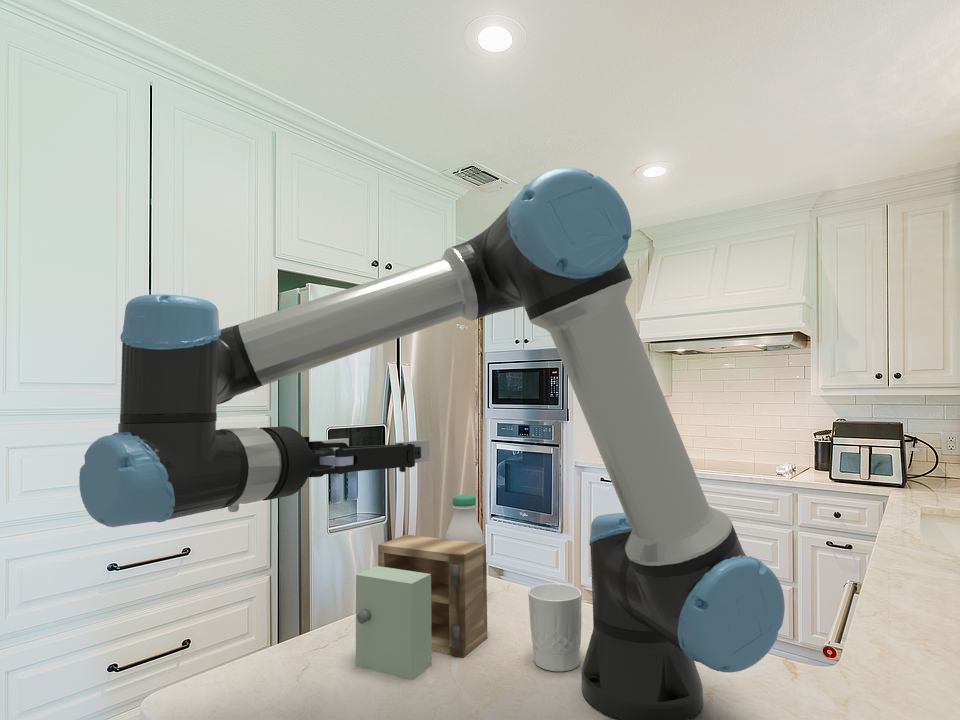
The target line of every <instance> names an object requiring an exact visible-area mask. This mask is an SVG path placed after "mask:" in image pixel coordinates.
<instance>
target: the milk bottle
mask: <svg viewBox="0 0 960 720" xmlns="http://www.w3.org/2000/svg"><path fill="white" fill-rule="evenodd" d="M476 498H477V497H476V496H475V495H473V494H458V495H454V496H452V508H453V513H452V514H453V515H452V518H451V521H450V522H449V523H450V524H449V526H448V528H447V532H446V534H445V539H449V540H458V541H467V542H476V543H484V544H485V539H484V534H483V531H482V528H481V526H480V524H479V521H478V518H477V515H476V512H475V510H476V509H475V508H477V507H476V503H477V499H476Z"/></svg>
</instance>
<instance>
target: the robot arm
mask: <svg viewBox="0 0 960 720" xmlns="http://www.w3.org/2000/svg"><path fill="white" fill-rule="evenodd" d="M631 237H632V221H631V215H630V212H629V209H628V207H627V204H626V203H625V201H624V200H623V197H622V196H621V195H620V193H619V192H618V191H617V190H616V188H615V187H614V186H613V185H612V184H610V183H609V182H608V181H607V180H606V179H604V178H602V177H601V176H599V175H595V174H593V173H591V172H588V171H587V170H585V169H582V168H577V167H557V168H553V169H550V170H547V171H545V172H542V173H540V174H539V175H537V176H536V177H535V178H533V179H532V180H530V182H529V183H527V184H525V185H524V186H523V187H521V189H518V191H517V192H516V193H515V194H514V195H513V197H512V199H511V200H510V202H509V204H508V206H507V207H506V208H505V209H504V210H503V212H502V213H501V214H500V215H499V216H498V217H497V218H496V219H495V221H493V222H492V224H490V226H488V227H487V228H486V229H484V230H483V231H482V232H480V233H479V234H478V235H476V236H474V237H472V238H471V239H469V240H466V241H465V242H461V243H459V244H457V245H453V246H450V247H447V248H446V249H445V251H444V252H443V254H442V257H441V258H440V259H437V260H433V261H430V262H427V263H424V264H421V265H418V266H414V267H412V268H408V269H405V270H402V271H400V272H396V273H393V274H389V275H387V276H384V277H380V278H377V279H374V280H371V281H368V282H364V283H361V284H358V285H355V286H353V287H349V288H346V289H343V290H340V291H336V292H334V293H330V294H328V295H324V296H321V297H318V298H315V299H312V300H308V301H306V302H302V303H299V304H296V305H294V306H290V307H287V308H284V309H280V310H277V311H273V312H272V313H268V314H265V315H262V316H258V317H256V318H252V319H249V320H247V321H243V322H240V323H238V324H235V325H232V326H229V327H228V326H227V327H225V328H222V329H220V320H219V318H220V317H219V309H218V308H217V306H216V304H214V303H212V302H211V301H209V300H206V299H203V298H201V297H200V298H199V297H194V296H188V295H177V294H145V295H144V294H143V295H139V296H136V297H133V298H131V299H130V300H129V301H128V302H127V304H126V305H125V310H124V318H123V326H122V331H121V334H120V342H122V343H121V347H122V348H121V350H122V351H121V374H120V375H121V376H120V377H121V380H120V410H119V411H120V412H119V422H118V423H117V425H118V426H117V427H118V428H117V429H118V431H117V432H114V433H112V434H110V435H104V436H102V437H99V438H97V439H95V441H93V442H92V443H91V444H90V445H89V447H88V448H87V449H86V452H85V453H84V464H83V465H81V467H80V469H79V476H78V477H79V479H78V480H79V481H78V482H79V483H78V485H79V493H80V498H81V501H82V504H83V505H84V507H85V510H86V512H87V513H88V515H89V516H90V517H91V518H92V519H94V520H95V521H96V522H97V523H99V524H100V525H103V526H106V527H108V528H109V527H110V528H118V527H123V526H131V525H138V524H146V523H162V522H163V523H164V522H166V521H169V520H174V519H176V518H181V517H182V518H183V517H186V516H192V515H195V514H200V513H201V514H202V513H206V512H210V511H211V512H212V511H215V510H217V511H218V510H222V509H225V508H227V510H228V512H230V513H236V512H238V511H239V509H240V505H241V504H243V505H247V504H251V503H256V502H260V501H269V500H276V499H281V498H285V497H290V496H293V495H295V494H296V493H297V492H299V491H300V490H301V489H302V488H303V487H304V485H305V483H306V482H307V481H308V478H322V477H323V476H324V475H335V474H338V475H344V474H345V473H353V472H361V471H363V472H365V471H373V470H387V469H398V470H399V472H401V473H405V472H406V470H407V469H409V468H414V467H416V464H417V463H423V462H424V463H425V462H429V461H431V460H430V459H431V458H430V451H431V450H430V439H419V440H410V441H401V442H395V443H394V444H379V445H378V444H377V445H375V444H373V445H356V446H355V445H353V446H351V445H350V438H346V437H345V438H334V439H322V440H311V441H310V436H303V435H302V434H301V433H300V432H299V431H298V430H297V429H295V428H293V427H289V426H269V427H268V426H267V427H266V426H265V427H256V426H255V427H234V428H233V427H232V428H220V429H216V428H217V418H218V417H217V416H218V415H217V406H218V405H221V404H225V403H228V402H230V401H231V400H232V399H233V398H235V397H236V396H239V395H242V394H245V393H247V392H251V391H253V390H256V389H258V388H259V387H262V386H266V385H268V384H271V383H274V382H277V381H280V380H282V379H285V378H288V377H289V378H290V377H291V376H294V375H297V374H299V373H302V372H306V371H308V370H311V369H314V368H317V367H319V366H322V365H326V364H328V363H331V362H334V361H337V360H339V359H343V358H345V357H348V356H351V355H354V354H357V353H360V352H362V351H365V350H368V349H371V348H375V347H377V346H379V345H383V344H386V343H387V342H392V341H394V340H396V339H399V338H402V337H405V336H408V335H411V334H413V333H416V332H420V331H422V330H425V329H428V328H431V327H433V326H436V325H440V324H442V323H445V322H448V321H450V320H453V319H456V318H459V317H461V318H463V319H466V320H468V321H470V322H472V321H475V320H478V319H482V318H483V317H487V316H490V315H493V314H496V313H497V314H498V313H500V312H506V311H509V310H514V309H518V308H522V307H523V308H524V310H525V312H526V314H527V318H528V320H529V321H530V324H532V325H535V326H538V327H539V328H542V329H544V330H546V331H547V332H548V333H550V336H551V339H552V341H553V343H554V345H555V348H556V351H557V353H558V355H559V358H560V360H561V362H562V366H563V367H564V370H565V372H566V375H567V378H568V379H569V382H570V384H571V387H572V390H573V392H574V394H575V396H576V399H577V401H578V404H579V406H580V408H581V411H582V413H583V416H584V418H585V420H586V423H587V426H588V428H589V430H590V433H591V436H592V437H593V440H594V442H595V445H596V447H597V449H598V452H599V454H600V457H601V460H602V462H603V465H604V466H605V470H606V472H607V473H608V476H609V479H610V481H611V484H612V486H613V489H614V491H615V493H616V496H617V498H618V500H619V503H620V505H621V508H622V510H623V512H615V513H608V514H607V513H605V514H601V515H597V516H596V517H595V518H594V519H593V520H592V521H591V525H590V537H589V546H590V569H591V571H590V573H591V593H592V619H593V620H592V621H593V629H592V633H591V636H590V640H589V643H588V646H587V650H586V654H585V657H584V661H583V664H582V666H581V673H580V674H581V693H582V695H583V696H584V698H585V699H586V701H587V702H588V703H589V704H590V705H592V706H593V707H594V708H595V709H597V710H598V711H599V712H602V713H604V714H606V715H607V716H610V717H612V718H615V719H618V720H687V719H689V720H691V719H693V718H694V716H695V715H696V716H697V715H698V714H700V712H701V711H702V708H703V707H704V706H703V705H704V696H703V694H704V693H703V683H702V679H701V676H700V673H699V671H698V668H697V665H696V663H700V664H702V665H703V666H705V667H707V668H708V669H711V670H713V671H716V672H720V673H721V672H722V673H736V672H737V673H739V672H742V671H745V670H747V669H750V668H751V667H753V666H754V665H756V664H757V663H758V662H760V661H761V660H763V658H764V657H766V655H768V653H769V652H770V651H771V649H772V647H774V644H775V643H776V641H777V640H778V636H779V632H780V630H781V628H782V627H783V623H784V618H785V609H786V608H785V607H786V605H785V604H786V603H785V596H784V591H783V590H784V589H783V588H782V585H781V582H780V580H779V579H778V577H777V575H776V574H775V573H774V571H773V570H772V569H771V568H770V567H769V566H768V565H766V564H764V563H763V561H761V560H759V559H758V558H757V557H756V558H755V557H754V556H751V555H749V556H748V555H746V553H745V552H744V549H743V547H742V545H741V542H740V540H739V537H738V535H737V533H736V529H735V528H734V525H733V523H732V520H731V519H730V517H729V515H728V514H727V513H725V512H723V511H722V510H718V509H716V508H714V507H712V506H710V505H709V503H708V501H707V499H706V496H705V494H704V490H703V489H702V486H701V484H700V481H699V479H698V476H697V474H696V472H695V469H694V467H693V464H692V462H691V459H690V457H689V455H688V453H687V449H686V447H685V445H684V442H683V440H682V437H681V434H680V433H679V430H678V428H677V425H676V423H675V420H674V418H673V416H672V412H671V410H670V408H669V405H668V404H667V403H668V402H667V400H666V398H665V396H664V393H663V390H662V388H661V386H660V384H659V381H658V379H657V376H656V373H655V372H654V369H653V367H652V365H651V364H652V363H651V362H650V359H649V356H648V355H647V352H646V350H645V347H644V344H643V342H642V340H641V337H640V336H639V332H638V330H637V327H636V324H635V323H634V321H633V317H632V315H631V312H630V310H629V308H628V306H627V303H626V299H627V298H626V297H627V294H628V293H629V291H630V288H631V285H632V283H633V281H634V280H633V278H632V275H631V273H630V271H629V270H630V269H629V268H628V265H627V263H626V261H625V258H624V256H625V254H626V252H627V250H628V248H629V241H630V238H631ZM406 468H407V469H406ZM696 716H695V717H696ZM692 717H693V718H692ZM690 718H691V719H690Z"/></svg>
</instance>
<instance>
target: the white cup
mask: <svg viewBox="0 0 960 720" xmlns="http://www.w3.org/2000/svg"><path fill="white" fill-rule="evenodd" d="M527 593H528V609H529V624H530V630H531V642H532V654H533V655H532V657H533V661H534V663H535V665H536V666H538V667H539V668H541V669H543V670H546V671H551V672H568V671H573V670H574V669H575V668H576V669H577V667H579V665H580V662H581V644H582V642H581V641H582V601H583V599H582V596H583V595H582V594H583V593H582V591H581V590H580V588H578V587H576V586H573V585H569V584H564V583H554V582H552V583H542V584H537V585H534V586H532V587H530V588H529V589H528V591H527Z"/></svg>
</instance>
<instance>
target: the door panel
mask: <svg viewBox="0 0 960 720" xmlns="http://www.w3.org/2000/svg"><path fill="white" fill-rule="evenodd" d="M432 653H433V651H432V634H431V574H427V573H421V572H414V571H407V570H401V569H394V568H387V567H380V566H378V565H376V566H373V567H371V568H369V569H367V570H364V571H361V572H359V573H356V574H355V666H356V667H358V666H359V667H360V668H362V669H366V670H371V671H374V672H378V673H382V674H386V675H389V676H394V677H398V678H401V679H406V680H408V681H409V680H410V681H413V680H415V679H416V678H417V677H419V676H420V675H421V674H422V673H424V672H425V671H427V670H428V669H429V668H430V667H432V665H433V664H432V662H433V661H432V660H433V659H432V658H433V657H432V655H433V654H432Z"/></svg>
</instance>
